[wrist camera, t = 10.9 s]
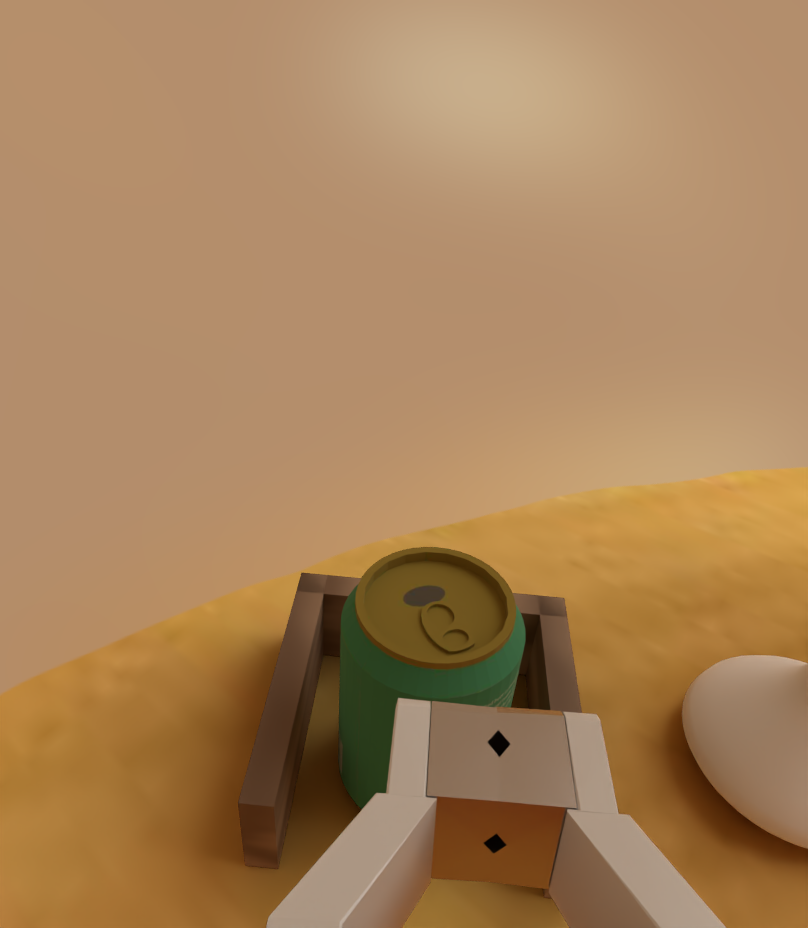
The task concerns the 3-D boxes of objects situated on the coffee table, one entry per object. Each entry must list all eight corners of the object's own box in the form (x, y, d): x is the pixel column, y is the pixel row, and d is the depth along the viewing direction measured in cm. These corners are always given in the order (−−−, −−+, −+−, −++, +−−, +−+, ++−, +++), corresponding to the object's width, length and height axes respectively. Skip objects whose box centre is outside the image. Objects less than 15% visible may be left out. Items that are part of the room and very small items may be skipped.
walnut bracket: (548, 657, 44) (564, 597, 42) (577, 900, 33) (601, 841, 30) (303, 633, 45) (301, 572, 42) (245, 865, 33) (238, 803, 30)
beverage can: (449, 685, 42) (472, 523, 35) (523, 808, 36) (568, 641, 30) (316, 730, 39) (315, 562, 32) (373, 871, 33) (386, 702, 27)
